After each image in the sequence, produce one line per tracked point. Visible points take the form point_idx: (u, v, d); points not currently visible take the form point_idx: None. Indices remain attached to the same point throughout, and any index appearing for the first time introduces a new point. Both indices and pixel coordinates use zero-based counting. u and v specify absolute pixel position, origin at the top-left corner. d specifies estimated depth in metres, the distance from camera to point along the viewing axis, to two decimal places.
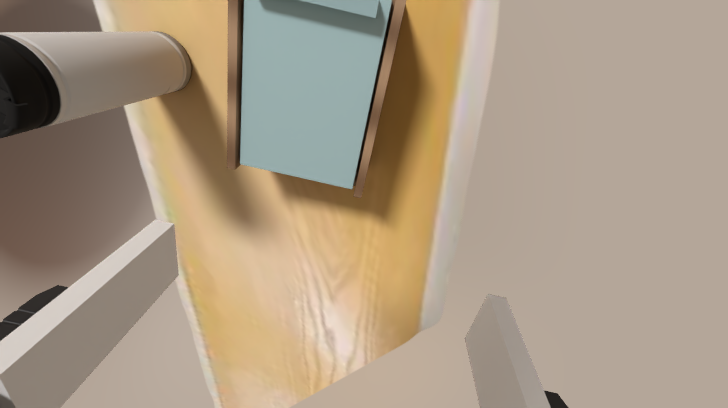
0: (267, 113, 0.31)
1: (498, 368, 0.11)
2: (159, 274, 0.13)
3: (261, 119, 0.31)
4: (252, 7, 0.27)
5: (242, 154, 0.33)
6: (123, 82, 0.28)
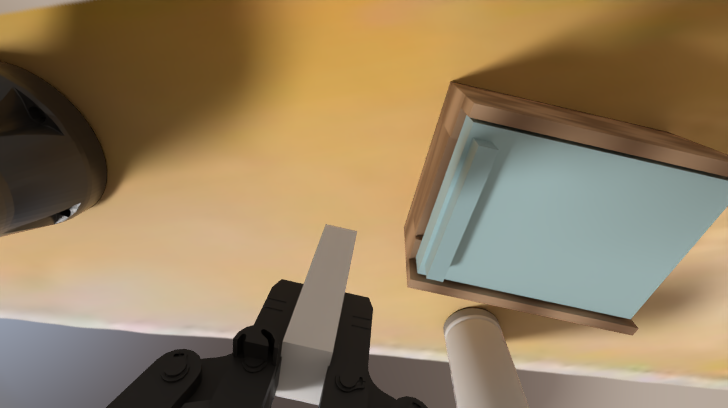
0: (575, 279, 0.24)
1: None
2: None
3: (579, 286, 0.24)
4: (455, 273, 0.25)
5: (618, 314, 0.25)
6: (511, 404, 0.27)
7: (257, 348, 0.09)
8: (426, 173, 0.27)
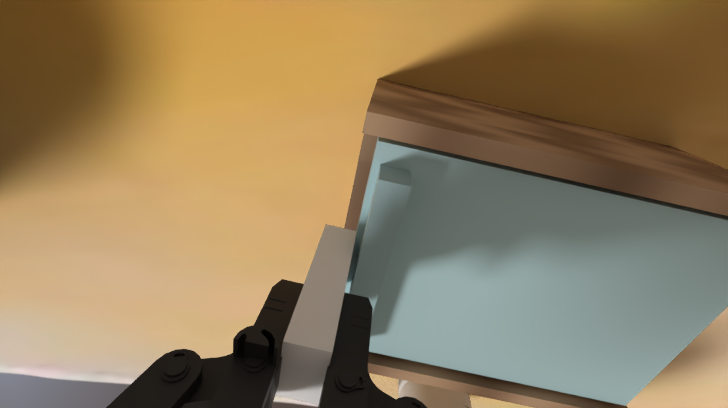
0: (547, 355, 0.17)
1: None
2: None
3: (554, 365, 0.17)
4: (382, 345, 0.18)
5: (608, 399, 0.18)
6: None
7: (257, 348, 0.09)
8: None
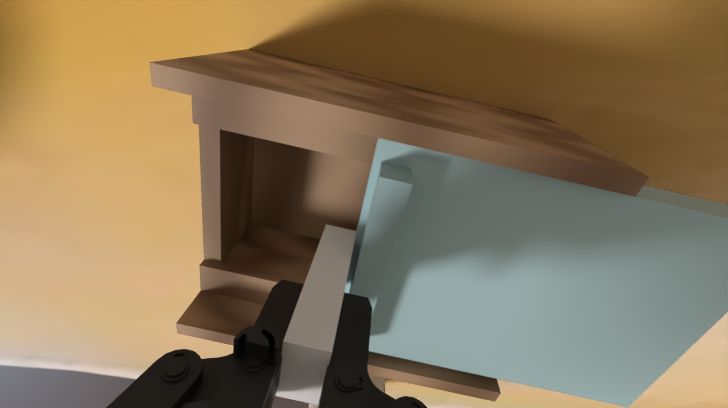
0: (549, 356, 0.17)
1: None
2: None
3: (555, 366, 0.17)
4: (382, 345, 0.18)
5: (611, 400, 0.18)
6: None
7: (258, 348, 0.09)
8: None
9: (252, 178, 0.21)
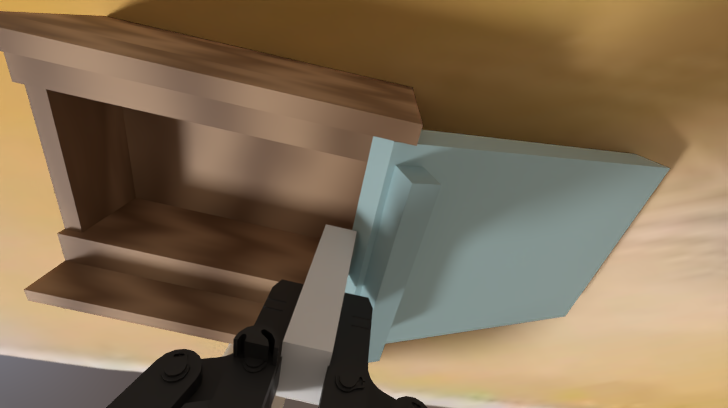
0: (519, 298, 0.20)
1: None
2: None
3: (523, 303, 0.21)
4: (389, 335, 0.18)
5: (555, 315, 0.23)
6: None
7: (257, 348, 0.09)
8: None
9: (127, 150, 0.21)
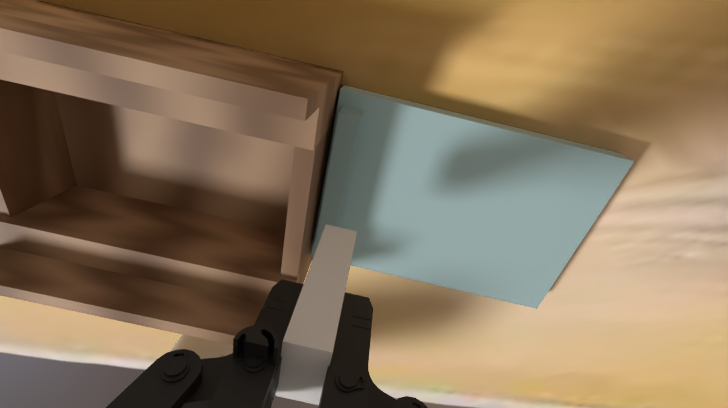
0: (473, 263, 0.23)
1: None
2: None
3: (479, 272, 0.23)
4: None
5: (523, 302, 0.24)
6: None
7: (257, 348, 0.09)
8: None
9: (63, 136, 0.21)
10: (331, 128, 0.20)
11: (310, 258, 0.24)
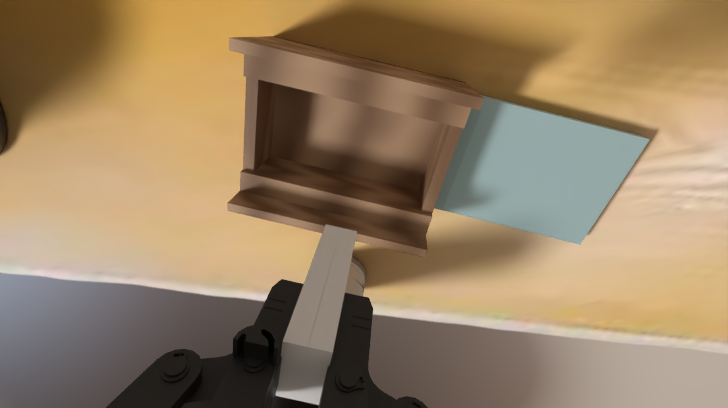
0: (538, 211, 0.34)
1: None
2: None
3: (542, 217, 0.34)
4: (452, 206, 0.34)
5: (571, 240, 0.35)
6: None
7: (257, 348, 0.09)
8: None
9: (273, 122, 0.33)
10: None
11: None
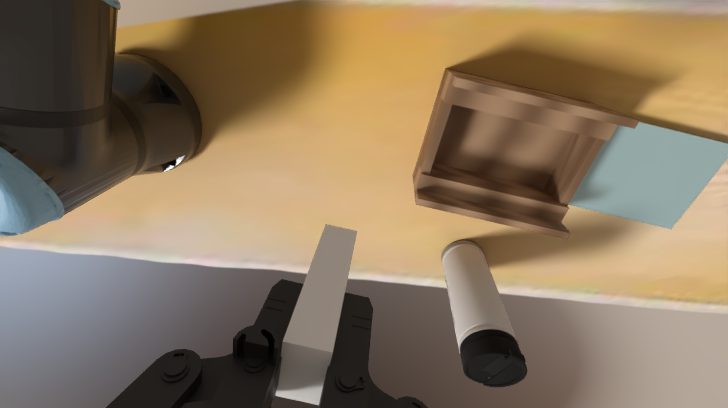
0: (641, 202, 0.43)
1: None
2: None
3: (643, 207, 0.43)
4: (571, 200, 0.43)
5: (664, 225, 0.44)
6: (486, 290, 0.40)
7: (257, 348, 0.09)
8: (428, 131, 0.40)
9: None
10: None
11: None
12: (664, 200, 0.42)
